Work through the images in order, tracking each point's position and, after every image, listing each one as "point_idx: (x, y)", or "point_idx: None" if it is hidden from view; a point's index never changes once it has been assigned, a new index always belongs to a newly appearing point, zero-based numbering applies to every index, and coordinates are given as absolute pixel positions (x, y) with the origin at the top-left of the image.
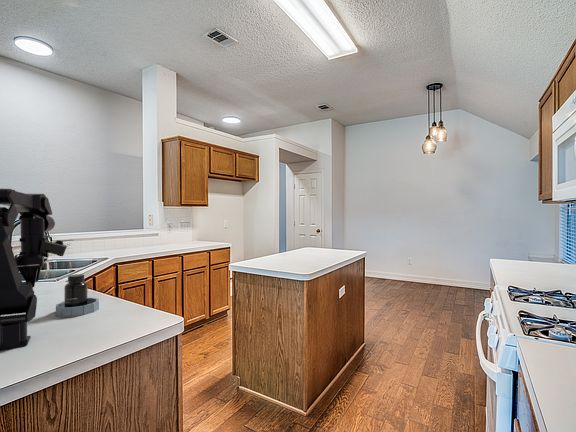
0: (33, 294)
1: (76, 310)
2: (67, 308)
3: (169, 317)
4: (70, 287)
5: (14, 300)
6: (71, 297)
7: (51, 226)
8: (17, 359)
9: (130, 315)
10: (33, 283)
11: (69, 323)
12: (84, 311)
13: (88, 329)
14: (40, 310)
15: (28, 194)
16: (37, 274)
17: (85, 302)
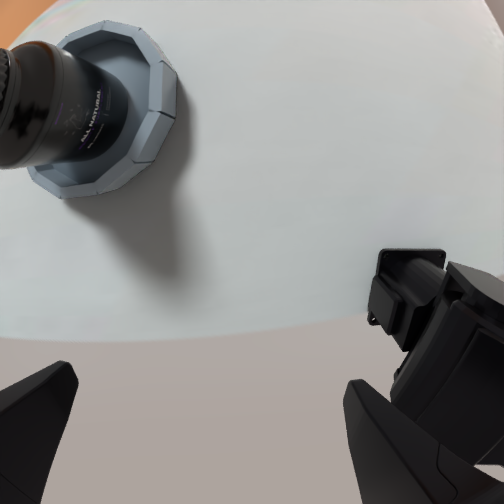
0: (494, 322)
1: (167, 94)
2: (151, 132)
3: None
4: (44, 117)
5: None
6: (89, 116)
7: None
8: (496, 256)
9: None
10: (385, 405)
11: (281, 120)
12: (169, 66)
13: (405, 72)
14: (37, 254)
15: None
16: (35, 404)
17: (99, 67)
